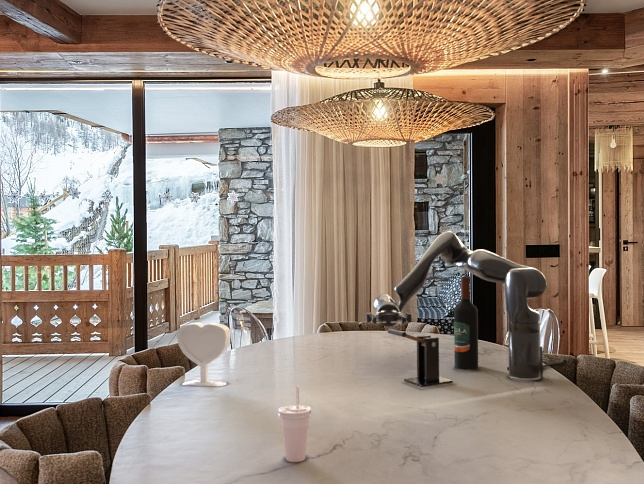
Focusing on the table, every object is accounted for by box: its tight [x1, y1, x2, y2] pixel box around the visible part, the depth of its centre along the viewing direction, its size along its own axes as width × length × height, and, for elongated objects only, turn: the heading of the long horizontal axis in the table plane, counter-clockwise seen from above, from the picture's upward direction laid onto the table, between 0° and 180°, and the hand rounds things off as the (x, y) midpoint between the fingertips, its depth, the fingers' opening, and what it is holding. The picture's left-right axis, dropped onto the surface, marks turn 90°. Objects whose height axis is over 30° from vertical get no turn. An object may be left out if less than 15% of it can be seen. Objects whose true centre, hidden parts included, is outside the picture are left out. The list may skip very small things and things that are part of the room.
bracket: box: [403, 334, 453, 388], centre depth 177 cm, size 11×9×14 cm
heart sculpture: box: [176, 322, 232, 387], centre depth 180 cm, size 16×5×18 cm, turn 79°
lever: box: [386, 328, 425, 346], centre depth 175 cm, size 13×8×2 cm, turn 118°
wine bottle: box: [453, 276, 479, 371], centre depth 196 cm, size 8×8×30 cm
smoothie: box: [278, 386, 312, 463], centre depth 118 cm, size 6×6×14 cm
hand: (389, 320), depth 185 cm, fingers open, 8 cm apart
